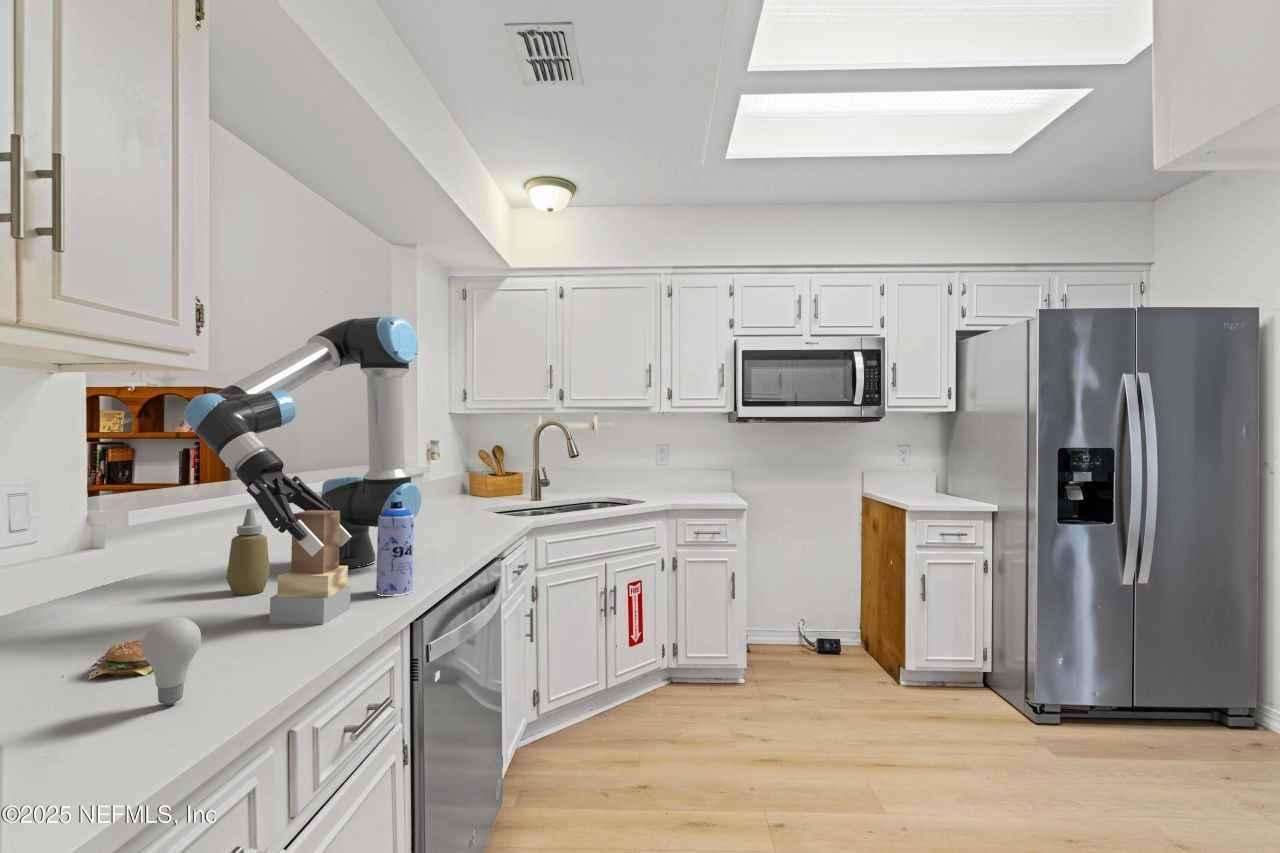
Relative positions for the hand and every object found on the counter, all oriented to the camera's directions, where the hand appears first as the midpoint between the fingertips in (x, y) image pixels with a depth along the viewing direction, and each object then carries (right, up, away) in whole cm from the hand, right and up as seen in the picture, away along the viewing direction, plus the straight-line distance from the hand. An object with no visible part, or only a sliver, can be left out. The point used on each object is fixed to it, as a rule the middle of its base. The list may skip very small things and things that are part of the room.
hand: (332, 546), depth 122 cm
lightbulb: (-1, -13, -40) cm, 42 cm away
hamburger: (-17, -13, -28) cm, 35 cm away
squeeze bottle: (-26, -13, +17) cm, 34 cm away
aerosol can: (+5, -14, +19) cm, 24 cm away
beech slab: (-3, -9, 0) cm, 9 cm away
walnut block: (-3, -5, 0) cm, 6 cm away
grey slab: (-4, -14, 0) cm, 14 cm away
